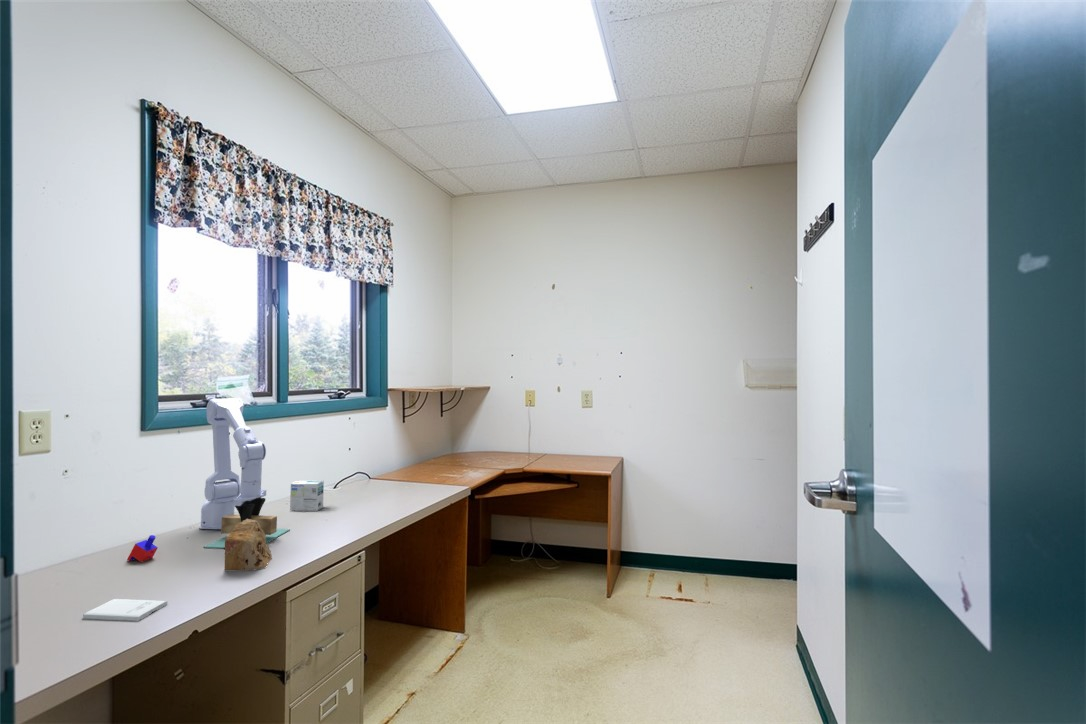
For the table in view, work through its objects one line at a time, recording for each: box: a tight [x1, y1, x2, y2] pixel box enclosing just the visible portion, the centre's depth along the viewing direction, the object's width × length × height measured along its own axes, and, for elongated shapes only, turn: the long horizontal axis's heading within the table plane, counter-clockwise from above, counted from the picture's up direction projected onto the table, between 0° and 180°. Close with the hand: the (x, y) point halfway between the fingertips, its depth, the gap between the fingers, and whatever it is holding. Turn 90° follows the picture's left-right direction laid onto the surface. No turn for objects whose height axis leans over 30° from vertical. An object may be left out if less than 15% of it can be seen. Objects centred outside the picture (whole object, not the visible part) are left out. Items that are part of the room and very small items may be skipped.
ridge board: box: [203, 528, 291, 549], centre depth 169 cm, size 16×20×2 cm
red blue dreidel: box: [126, 534, 158, 563], centre depth 148 cm, size 4×4×8 cm
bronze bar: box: [220, 514, 278, 535], centre depth 169 cm, size 16×4×5 cm, turn 88°
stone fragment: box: [224, 519, 273, 571], centre depth 148 cm, size 14×10×15 cm
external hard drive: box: [82, 598, 168, 622], centre depth 117 cm, size 2×8×12 cm
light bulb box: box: [289, 480, 325, 512], centre depth 207 cm, size 11×7×11 cm, turn 94°
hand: (249, 523), depth 169 cm, fingers closed on bronze bar, 3 cm apart
